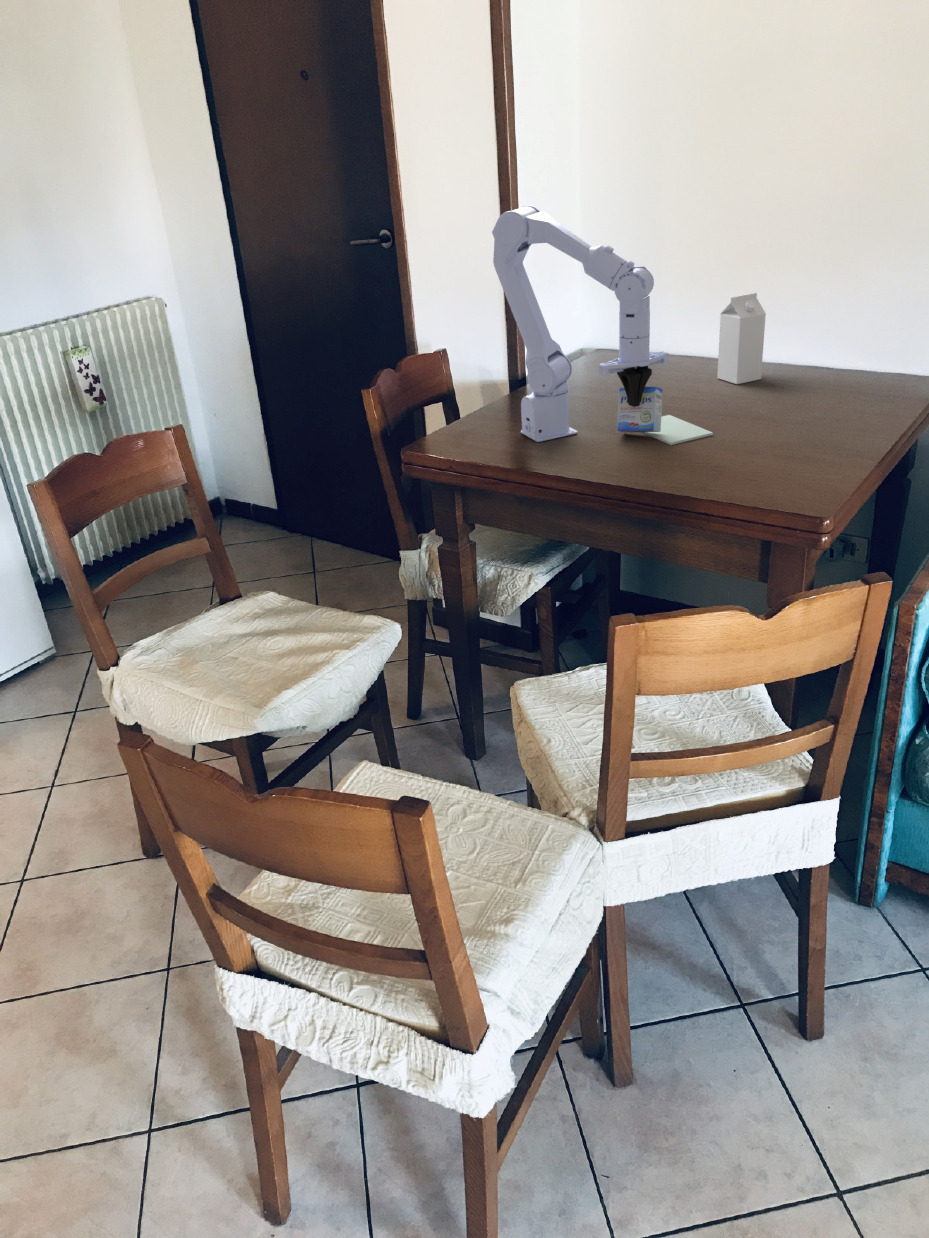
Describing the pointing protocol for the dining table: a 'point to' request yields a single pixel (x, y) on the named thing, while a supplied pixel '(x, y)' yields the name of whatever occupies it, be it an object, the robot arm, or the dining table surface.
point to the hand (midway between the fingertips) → (634, 405)
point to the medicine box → (640, 412)
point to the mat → (678, 431)
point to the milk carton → (741, 340)
